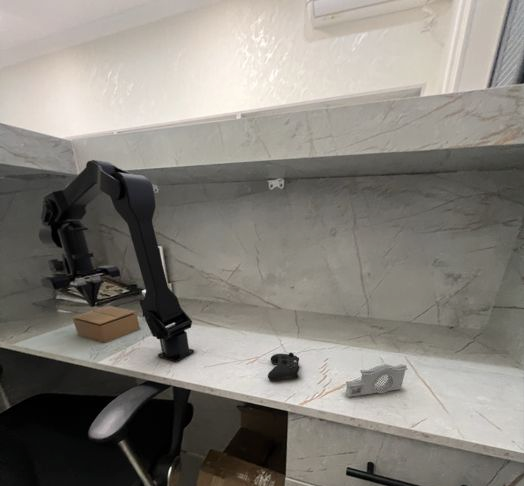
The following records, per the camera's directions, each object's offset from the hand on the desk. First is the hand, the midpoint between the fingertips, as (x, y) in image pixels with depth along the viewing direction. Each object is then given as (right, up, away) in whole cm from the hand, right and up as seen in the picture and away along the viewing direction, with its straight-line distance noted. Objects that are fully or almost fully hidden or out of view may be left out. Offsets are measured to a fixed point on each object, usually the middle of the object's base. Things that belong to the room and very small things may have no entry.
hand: (92, 306), depth 80 cm
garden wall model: (+71, -21, -25) cm, 78 cm away
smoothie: (+12, -1, +17) cm, 21 cm away
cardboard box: (+2, -7, +6) cm, 9 cm away
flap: (0, -3, +1) cm, 3 cm away
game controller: (+54, -18, -17) cm, 59 cm away
